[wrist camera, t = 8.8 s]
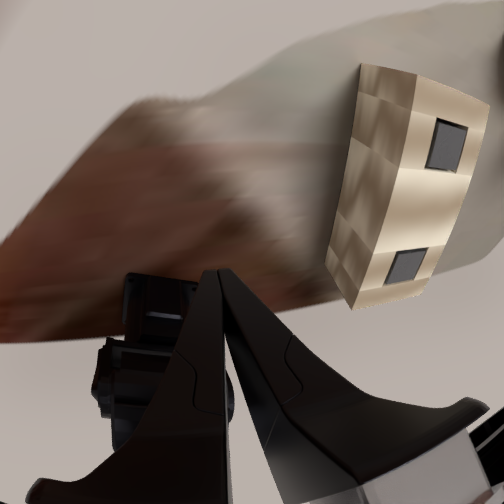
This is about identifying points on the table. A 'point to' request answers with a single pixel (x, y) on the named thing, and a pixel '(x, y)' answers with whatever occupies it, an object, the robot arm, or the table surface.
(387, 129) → the block
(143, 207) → the table surface
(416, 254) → the peg far
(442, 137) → the peg near
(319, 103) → the table surface
